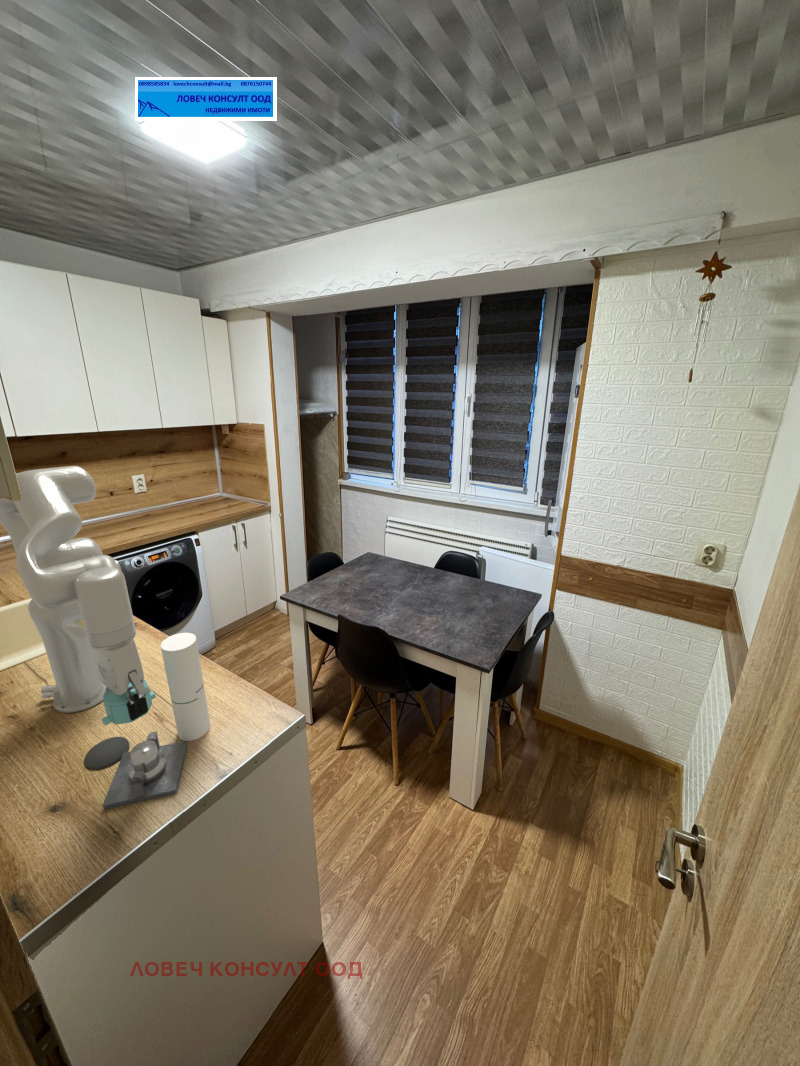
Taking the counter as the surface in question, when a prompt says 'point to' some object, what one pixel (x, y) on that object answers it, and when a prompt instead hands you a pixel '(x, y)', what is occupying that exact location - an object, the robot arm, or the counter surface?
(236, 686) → the counter surface
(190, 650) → the cylindrical container
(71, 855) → the counter surface
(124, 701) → the cap
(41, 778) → the counter surface
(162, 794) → the grey square base plate
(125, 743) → the coaster
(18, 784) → the counter surface
